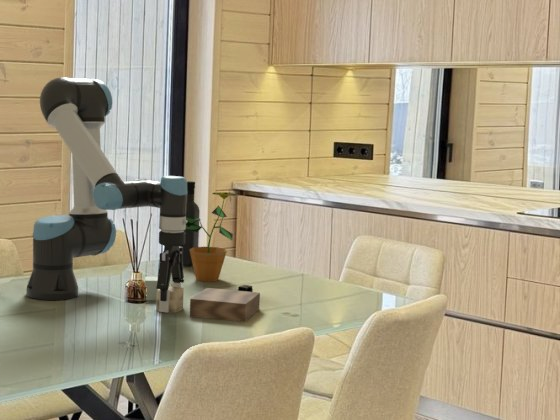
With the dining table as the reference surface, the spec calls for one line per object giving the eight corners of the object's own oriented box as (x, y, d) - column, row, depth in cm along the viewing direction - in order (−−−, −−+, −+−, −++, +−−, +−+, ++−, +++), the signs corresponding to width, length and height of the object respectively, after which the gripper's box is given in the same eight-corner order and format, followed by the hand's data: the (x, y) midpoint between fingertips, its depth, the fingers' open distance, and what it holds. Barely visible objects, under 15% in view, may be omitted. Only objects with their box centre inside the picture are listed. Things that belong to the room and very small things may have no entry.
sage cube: (144, 300, 286) (145, 280, 285) (144, 295, 292) (145, 276, 291) (164, 300, 287) (165, 280, 286) (164, 296, 293) (165, 276, 292)
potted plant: (245, 279, 324) (248, 190, 320) (211, 287, 308) (215, 194, 305) (202, 271, 334) (205, 185, 330) (168, 279, 318) (171, 189, 314)
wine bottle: (177, 265, 344) (180, 181, 340) (184, 262, 349) (187, 180, 345) (191, 266, 342) (194, 182, 338) (198, 264, 347) (201, 181, 343)
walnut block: (189, 316, 268) (190, 298, 268) (206, 304, 284) (207, 287, 283) (244, 321, 265) (245, 304, 264) (259, 309, 280) (259, 292, 280)
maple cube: (156, 310, 274) (156, 290, 273) (163, 306, 279) (164, 286, 279) (176, 312, 272) (176, 292, 271) (183, 308, 278) (183, 287, 277)
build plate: (244, 306, 286) (244, 291, 286) (223, 302, 290) (224, 287, 289) (264, 299, 297) (265, 284, 297) (244, 295, 301) (245, 281, 300)
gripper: (172, 237, 262) (169, 317, 264) (196, 226, 283) (193, 301, 285) (146, 234, 263) (143, 315, 266) (172, 224, 284) (169, 299, 287)
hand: (169, 308), depth 276 cm, fingers open, 9 cm apart
